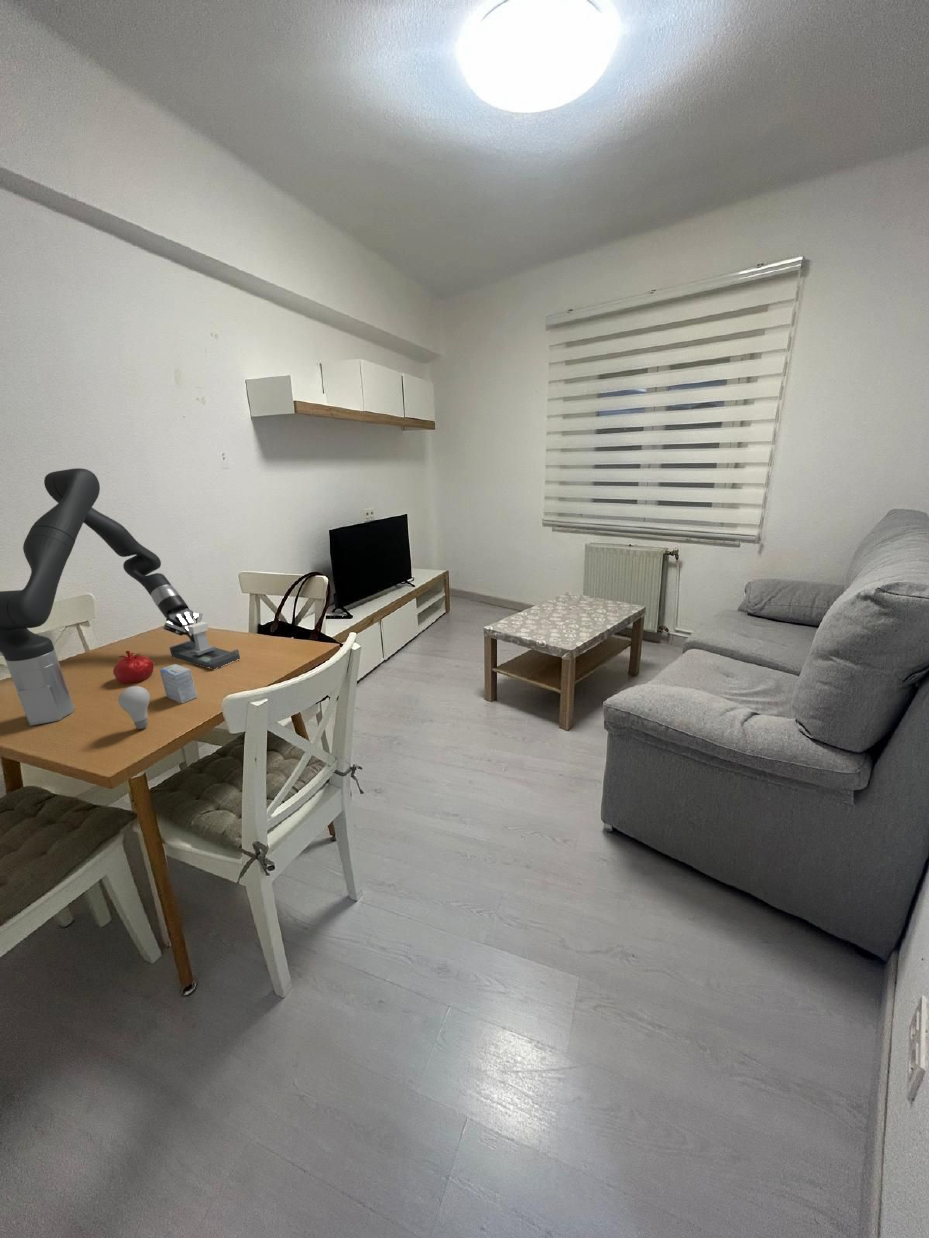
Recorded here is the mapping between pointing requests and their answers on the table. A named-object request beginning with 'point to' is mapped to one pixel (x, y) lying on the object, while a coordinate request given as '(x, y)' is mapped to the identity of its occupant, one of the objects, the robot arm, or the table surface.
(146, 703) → the lightbulb
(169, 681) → the medicine box
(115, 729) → the table surface
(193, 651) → the fader
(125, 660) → the pomegranate
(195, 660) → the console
